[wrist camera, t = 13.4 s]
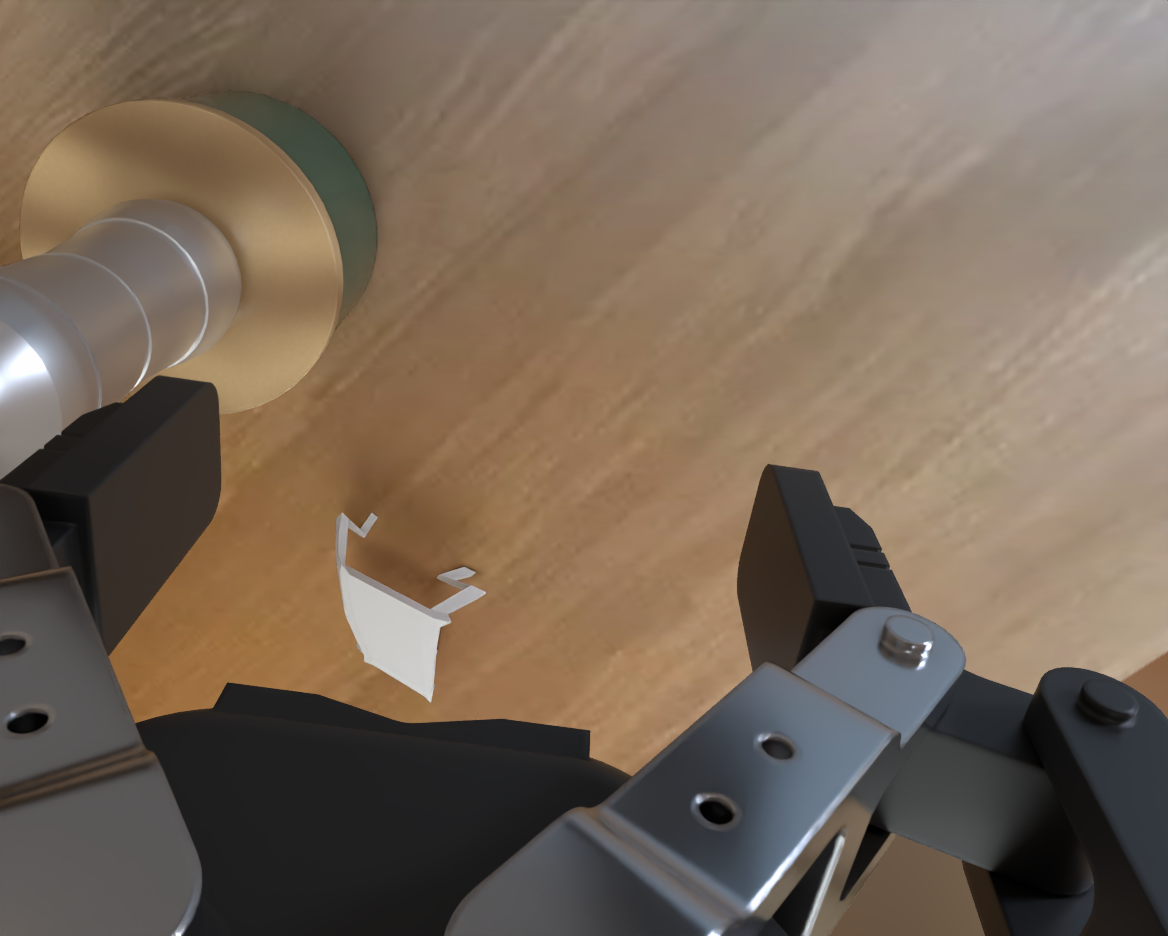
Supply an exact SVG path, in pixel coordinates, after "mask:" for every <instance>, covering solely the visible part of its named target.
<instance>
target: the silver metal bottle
mask: <svg viewBox="0 0 1168 936" xmlns="http://www.w3.org/2000/svg"><path fill="white" fill-rule="evenodd" d="M241 289H242V288H241V274H240V270H239V266H238V262H237V259H236V256H235V254H234V252H233V250H232V248H231V245H230V244H229V242H228V241H227V239H226V238H225V237H224V235H223V234H222V232H221V231H220V230H219V229H218V228H217V227H216V226H215V225H214V224H213V223H212V222H211V221H210V220H209V219H207V218H206V217H205V216H203V215H202V214H201V213H199V212H198V211H196V210H194V209H192V208H190V207H188V206H186V205H184V204H180V203H177V202H173V201H170V200H159V199H137V200H129V201H123V202H120V203H117V204H115V205H112V206H109V207H108V208H106V209H105V210H103V211H102V212H100V213H99V214H97V215H96V216H94V217H93V218H92V219H90V220H89V221H88V222H86V223H85V224H84V225H83V226H82V227H81V228H80V229H79V230H78V231H77V232H76V233H75V234H74V235H73V236H72V237H71V238H69V239H67V240H66V241H64V242H63V243H61V244H59V245H58V246H56V247H54V248H53V249H51V250H49V251H48V252H46V253H43V254H40V255H37V256H34V257H30V258H27V259H24V260H21V261H18V262H15V263H11V264H8V265H4V266H0V480H1V479H2V478H3V477H5V476H6V475H7V474H8V473H10V472H11V471H12V470H13V469H15V468H16V467H17V466H19V465H20V464H21V463H22V462H24V461H25V460H26V459H27V458H29V457H30V456H31V455H32V454H34V453H35V452H36V451H37V450H39V449H44V445H45V444H46V443H47V442H49V441H50V440H51V439H52V438H54V437H55V436H56V435H61V431H62V430H64V429H65V428H66V427H67V426H69V425H70V424H71V423H72V422H74V421H75V420H76V419H78V418H79V417H80V416H81V415H83V414H85V413H88V412H91V411H93V410H96V409H99V408H101V407H104V406H107V405H109V404H112V403H115V402H118V403H119V402H120V401H121V400H122V399H123V398H124V397H125V396H126V395H127V394H128V393H129V392H131V391H132V390H133V389H134V388H135V387H136V386H137V385H138V384H139V383H140V382H142V381H144V380H146V379H147V378H149V377H151V376H153V375H154V374H156V373H158V372H160V371H161V370H163V369H166V368H169V367H173V366H176V365H179V364H182V363H184V362H187V361H189V360H191V359H193V358H195V357H197V356H199V355H201V354H203V353H204V352H206V351H208V350H209V349H211V348H212V347H213V346H214V345H215V344H216V343H217V342H218V341H219V340H220V339H221V338H222V336H223V334H224V333H225V331H226V330H227V328H228V327H229V325H230V323H231V321H232V320H233V318H234V316H235V314H236V311H237V308H238V306H239V303H240V296H241Z"/></svg>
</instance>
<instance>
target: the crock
mask: <svg viewBox="0 0 1168 936" xmlns="http://www.w3.org/2000/svg"><path fill="white" fill-rule="evenodd" d="M137 199H159V200H170V201H173V202H177V203H180V204H184V205H186V206H188V207H190V208H192V209H194V210H196V211H198V212H199V213H201V214H202V215H203V216H205V217H206V218H207V219H209V220H210V221H211V222H212V223H213V224H214V225H215V226H216V227H217V228H218V229H219V230H220V231H221V232H222V234H223V235H224V237H225V238H226V239H227V241H228V242H229V244H230V245H231V248H232V250H233V252H234V254H235V256H236V259H237V262H238V266H239V270H240V274H241V288H242V289H241V296H240V303H239V306H238V308H237V311H236V314H235V316H234V318H233V320H232V321H231V323H230V325H229V327H228V328H227V330H226V331H225V333H224V334H223V336H222V338H221V339H220V340H219V341H218V342H217V343H216V344H215V345H214V346H213V347H212V348H211V349H209V350H208V351H206V352H204V353H203V354H201V355H199V356H197V357H195V358H193V359H191V360H189V361H187V362H184V363H182V364H179V365H176V366H173V367H169V368H166V369H163V370H161V371H160V372H158V373H156V374H154V375H153V376H151V377H149V378H147V379H146V380H144V381H142V382H140V383H139V384H138V385H137V386H136V387H135V388H134V389H133V390H132V391H131V392H129V393H128V395H130V396H133V395H134V394H135V393H136V392H137V391H139V390H140V389H141V388H142V387H143V386H145V385H146V384H147V383H148V382H149V381H150V380H152V379H153V378H154V377H156V376H158V375H162V376H169V377H176V378H183V379H190V380H197V381H203V382H210V383H213V384H214V386H215V387H216V389H217V393H218V398H219V414H229V413H235V412H240V411H245V410H248V409H251V408H254V407H257V406H261V405H263V404H265V403H267V402H269V401H271V400H273V399H275V398H277V397H279V396H281V395H282V394H283V393H285V392H286V391H288V390H289V389H291V388H292V387H293V386H294V385H296V384H297V383H298V382H299V381H300V380H301V379H302V378H303V377H304V376H305V375H306V374H307V373H308V372H309V370H310V369H311V368H312V367H313V366H314V364H315V363H316V362H317V360H318V359H319V358H320V357H321V355H322V354H323V352H324V350H325V349H326V347H327V345H328V343H329V342H330V340H331V338H332V335H333V333H334V331H335V330H336V329H337V327H338V326H339V325H340V324H341V323H342V322H343V320H344V319H345V318H346V317H347V316H348V315H349V313H350V312H351V311H352V310H353V308H354V307H355V306H356V305H357V303H358V302H359V300H360V299H361V297H362V295H363V293H364V292H365V290H366V288H367V285H368V283H369V280H370V278H371V275H372V272H373V267H374V263H375V259H376V249H377V226H376V220H375V213H374V208H373V205H372V201H371V198H370V194H369V192H368V189H367V187H366V185H365V182H364V180H363V178H362V175H361V174H360V172H359V170H358V168H357V167H356V165H355V163H354V162H353V160H352V159H351V157H350V156H349V155H348V153H347V152H346V150H345V149H344V148H343V146H342V145H341V144H340V143H339V142H338V141H337V140H336V139H335V138H334V137H333V136H332V135H331V133H330V132H329V131H327V130H326V129H325V128H324V127H323V126H321V125H320V124H319V123H318V122H317V121H316V120H314V119H313V118H311V117H310V116H308V115H307V114H305V113H304V112H302V111H301V110H299V109H297V108H295V107H293V106H291V105H289V104H287V103H285V102H283V101H280V100H277V99H274V98H272V97H269V96H266V95H261V94H257V93H252V92H246V91H232V90H229V91H215V92H209V93H204V94H200V95H195V96H190V97H186V98H181V99H163V98H153V99H139V100H132V101H127V102H123V103H118V104H114V105H109V106H106V107H103V108H101V109H98V110H96V111H93V112H91V113H88V114H86V115H84V116H83V117H81V118H79V119H78V120H76V121H74V122H73V123H71V124H70V125H68V126H67V127H66V128H65V129H64V130H63V131H61V132H60V133H59V134H58V135H57V136H56V137H55V138H54V139H53V140H52V141H51V142H50V144H49V145H48V146H47V147H46V148H45V150H44V151H43V152H42V154H41V155H40V157H39V159H38V160H37V162H36V164H35V165H34V167H33V169H32V171H31V174H30V177H29V179H28V182H27V184H26V187H25V191H24V195H23V200H22V204H21V211H20V225H19V230H20V246H21V252H22V258H23V260H24V259H27V258H30V257H34V256H37V255H40V254H43V253H46V252H48V251H49V250H51V249H53V248H54V247H56V246H58V245H59V244H61V243H63V242H64V241H66V240H67V239H69V238H71V237H72V236H73V235H74V234H75V233H76V232H77V231H78V230H79V229H80V228H81V227H82V226H83V225H84V224H85V223H86V222H88V221H89V220H90V219H92V218H93V217H94V216H96V215H97V214H99V213H100V212H102V211H103V210H105V209H106V208H108V207H109V206H112V205H115V204H117V203H120V202H123V201H129V200H137Z"/></svg>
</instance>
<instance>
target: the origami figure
mask: <svg viewBox="0 0 1168 936" xmlns="http://www.w3.org/2000/svg"><path fill="white" fill-rule="evenodd" d="M377 518H378V517H377V516H375V515H374V514H373V513H371V514H370V516H369V517H368V519H367V520H366V522H365V523H364V524H363V526H362V527H361V529H359V528H358V527H357V526H356V525H355V524H354V523H353V522H352V521H351V520H350V519H348V518H347V517H346V516H345V515H344V514H343V513H341V514H340V515H339V516H338V517H337V518H336V565H337V571H338V577H339V583H340V590H341V596H342V602H343V608H344V612H345V615H346V617H347V620H348V622H349V624H350V627H351V629H352V631H353V633H354V636H355V638H356V640H357V646H356V648H357V649H358V650H360V651H361V652H362V653H363V654H364V662H367V663H370V664H372V665H374V666H376V667H377V668H379V669H381V670H382V671H384V672H385V673H387V674H389V675H390V676H392V677H394V678H395V679H397V680H399V681H400V682H402V683H403V684H405V685H407V686H408V687H410V688H412V689H413V690H415V691H417V692H418V693H420V694H421V695H423V696H425V697H426V698H427V699H428V701H429V702H430V703H431V699H432V694H433V689H434V688H435V686H434V674H435V664H436V654H437V652H438V651H437V643H438V638H439V632H440V627H442V626H444V625H447V624H449V623H451V620H450V618H449V615H448V614H450V613H452V612H453V611H455V610H457V609H459V608H461V607H463V606H465V605H467V604H469V603H471V602H473V601H474V600H476V599H478V598H480V597H482V596H483V595H484V594H485V593H487V592H485V591H482V590H480V589H478V588H476V587H474V586H472V585H469V584H466V583H463V582H459V581H456V580H460V579H463V578H467V577H471V576H473V575H474V574H475V573H476V572H474V571H472V570H470V569H468V568H466V567H462V568H459V569H456V570H452V571H449V572H446V573H443V574H440V575H438V576H437V579H439V580H441V581H443V582H445V583H447V584H449V585H452V586H454V587H456V588H459V589H461V590H462V591H460V592H459V593H457V594H455V595H454V596H452V597H450V598H449V599H447V600H445V601H443V602H442V603H440V604H438V605H436V606H435V607H433V608H431V609H429V608H427V607H425V606H423V605H421V604H419V603H417V602H415V601H414V600H412V599H410V598H408V597H406V596H404V595H402V594H400V593H398V592H396V591H394V590H393V589H391V588H389V587H387V586H385V585H383V584H381V583H379V582H377V581H375V580H374V579H372V578H370V577H368V576H366V575H364V574H362V573H360V572H358V571H356V570H355V569H353V568H351V567H349V566H347V565H345V557H346V546H347V534H348V528H349V529H351V530H352V531H354V532H355V533H357V534H358V535H360V536H361V537H363V538H365V536H366V534H367V533H368V531H369V530H370V528H371V527H372V525H373V524H374V522H375V521H376V520H377Z"/></svg>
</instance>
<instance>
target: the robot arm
mask: <svg viewBox="0 0 1168 936" xmlns="http://www.w3.org/2000/svg"><path fill="white" fill-rule="evenodd" d="M220 491H221V454H220V421H219V398H218V393H217V389H216V387H215V386H214V384H213V383H210V382H203V381H197V380H190V379H183V378H176V377H169V376H162V375H158V376H156V377H154V378H153V379H152V380H150V381H149V382H148V383H147V384H146V385H145V386H143V387H142V388H141V389H140V390H139V391H137V392H136V393H135V394H134V395H133V396H131V397H130V398H129V399H128V400H127V401H125V402H124V403H118V402H115V403H112V404H109V405H107V406H104V407H101V408H99V409H96V410H93V411H91V412H88V413H85V414H83V415H81V416H80V417H79V418H78V419H76V420H75V421H74V422H72V423H71V424H70V425H69V426H67V427H66V428H65V429H64V430H62V431H61V435H56V436H55V437H54V438H52V439H51V440H50V441H49V442H47V443H46V444H45V445H44V449H39V450H37V451H36V452H35V453H34V454H32V455H31V456H30V457H29V458H27V459H26V460H25V461H24V462H22V463H21V464H20V465H19V466H17V467H16V468H15V469H13V470H12V471H11V472H10V473H8V474H7V475H6V476H5V477H3V478H2V479H1V480H0V936H829V935H830V933H831V932H832V930H833V929H834V927H835V926H836V924H837V923H838V921H839V920H840V919H841V917H842V916H843V914H844V913H845V911H846V910H847V908H848V907H849V905H850V904H851V902H852V901H853V900H854V898H855V897H856V895H857V894H858V892H859V891H860V889H861V888H862V887H863V885H864V884H865V882H866V881H867V879H868V878H869V876H870V875H871V873H872V872H873V870H874V869H875V868H876V866H877V865H878V863H879V862H880V860H881V859H882V857H883V856H884V855H885V853H886V852H887V850H888V849H889V847H890V846H891V844H892V843H893V841H894V839H895V837H896V835H899V836H901V837H904V838H907V839H909V840H912V841H914V842H917V843H919V844H922V845H925V846H927V847H930V848H933V849H935V850H938V851H940V852H943V853H945V854H948V855H951V856H953V857H956V858H958V859H961V860H962V864H963V869H964V872H965V875H966V878H967V881H968V885H969V888H970V891H971V894H972V897H973V900H974V903H975V906H976V909H977V912H978V915H979V918H980V921H981V924H982V928H983V930H984V934H985V936H1168V719H1167V718H1166V716H1165V715H1164V714H1163V713H1162V711H1161V710H1160V709H1159V708H1158V707H1157V706H1156V705H1155V704H1154V703H1152V702H1151V701H1150V700H1149V699H1148V698H1146V697H1145V696H1144V695H1142V694H1141V693H1139V692H1138V691H1136V690H1135V689H1133V688H1131V687H1130V686H1128V685H1126V684H1124V683H1122V682H1120V681H1118V680H1116V679H1114V678H1111V677H1109V676H1106V675H1104V674H1100V673H1097V672H1094V671H1090V670H1086V669H1081V668H1072V667H1062V668H1055V669H1053V670H1050V671H1048V672H1047V673H1045V674H1044V675H1043V677H1042V678H1041V680H1040V682H1039V684H1038V687H1037V689H1036V691H1035V693H1034V695H1032V694H1029V693H1026V692H1023V691H1020V690H1017V689H1014V688H1011V687H1008V686H1005V685H1002V684H999V683H996V682H993V681H990V680H988V679H985V678H982V677H980V676H977V675H975V674H973V673H971V672H968V671H966V670H964V668H965V665H966V656H965V653H964V651H963V648H962V647H961V645H960V644H959V643H958V641H957V640H956V639H955V638H954V637H953V636H952V635H951V634H950V633H948V632H947V631H946V630H945V629H943V628H942V627H940V626H939V625H937V624H936V623H934V622H932V621H930V620H928V619H926V618H924V617H922V616H920V615H917V614H914V613H912V611H911V609H910V607H909V605H908V603H907V601H906V599H905V597H904V595H903V592H902V590H901V588H900V586H899V584H898V582H897V580H896V578H895V576H894V573H893V571H892V570H889V567H890V565H889V563H888V561H887V559H886V557H885V555H884V553H881V550H882V548H881V546H880V544H879V542H878V540H877V538H876V536H875V534H874V531H873V529H872V528H871V527H870V526H869V525H868V524H867V523H866V522H864V521H863V520H862V519H861V518H860V517H859V516H858V515H857V514H855V513H854V512H853V511H852V510H851V509H850V508H844V507H837V506H833V504H832V501H831V499H830V497H829V494H828V492H827V489H826V487H825V485H824V482H823V480H822V478H821V475H820V473H819V472H818V471H813V470H806V469H799V468H792V467H785V466H778V465H771V464H768V465H767V466H766V467H765V469H764V470H763V473H762V475H761V478H760V482H759V486H758V490H757V494H756V497H755V501H754V505H753V509H752V513H751V517H750V521H749V525H748V529H747V532H746V536H745V540H744V544H743V548H742V552H741V556H740V561H739V567H738V577H737V595H738V601H739V606H740V611H741V616H742V621H743V626H744V631H745V636H746V641H747V646H748V651H749V656H750V661H751V666H752V671H753V672H752V673H751V674H750V675H749V676H748V677H746V678H745V679H744V680H743V681H742V682H741V683H740V684H738V685H737V686H736V687H735V688H734V689H733V690H731V691H730V692H729V693H728V694H727V695H726V696H725V697H723V698H722V699H721V700H720V701H719V702H718V703H716V704H715V705H714V706H713V707H712V708H711V709H710V710H708V711H707V712H706V713H705V714H704V715H703V716H702V717H700V718H699V719H698V720H697V721H696V722H695V723H693V724H692V725H691V726H690V727H689V728H688V729H687V730H685V731H684V732H683V733H682V734H681V735H680V736H678V737H677V738H676V739H675V740H674V741H673V742H672V743H670V744H669V745H668V746H667V747H666V748H665V749H663V750H662V751H661V752H660V753H659V754H658V755H657V756H655V757H654V758H653V759H652V760H651V761H650V762H649V763H647V764H646V765H645V766H644V767H643V768H642V769H640V770H639V771H638V772H637V773H636V774H635V775H634V776H630V775H628V774H627V773H625V772H623V771H621V770H619V769H617V768H615V767H613V766H610V765H608V764H606V763H604V762H601V761H598V760H596V759H593V758H590V757H589V752H590V730H582V729H574V728H567V727H559V726H552V725H544V724H537V723H529V722H522V721H514V720H507V719H490V720H470V721H450V722H430V723H404V722H399V721H395V720H392V719H389V718H386V717H383V716H380V715H378V714H375V713H372V712H369V711H366V710H363V709H360V708H357V707H354V706H351V705H348V704H345V703H342V702H339V701H336V700H333V699H330V698H327V697H324V696H321V695H318V694H310V693H303V692H295V691H288V690H280V689H273V688H265V687H258V686H250V685H243V684H235V683H227V684H226V686H225V688H224V689H223V691H222V693H221V695H220V697H219V698H218V700H217V702H216V704H215V706H214V707H213V708H211V709H199V710H192V711H184V712H177V713H173V714H168V715H164V716H159V717H155V718H151V719H148V720H145V721H141V722H138V723H135V722H134V720H133V717H132V715H131V712H130V710H129V707H128V705H127V702H126V700H125V697H124V695H123V692H122V690H121V687H120V685H119V682H118V680H117V677H116V675H115V672H114V670H113V667H112V665H111V662H110V660H109V657H108V656H109V655H110V654H111V652H112V651H113V650H114V649H115V647H116V646H117V645H118V643H119V642H120V641H121V639H122V638H123V637H124V635H125V634H126V633H127V631H128V630H129V629H130V628H131V626H132V625H133V624H134V622H135V621H136V620H137V618H138V617H139V616H140V614H141V613H142V612H143V610H144V609H145V608H146V606H147V605H148V604H149V603H150V601H151V600H152V599H153V597H154V596H155V595H156V593H157V592H158V591H159V589H160V588H161V587H162V585H163V584H164V583H165V582H166V580H167V579H168V578H169V576H170V575H171V574H172V572H173V571H174V570H175V568H176V567H177V566H178V564H179V563H180V562H181V561H182V559H183V558H184V557H185V555H186V554H187V553H188V551H189V550H190V549H191V547H192V546H193V545H194V543H195V542H196V541H197V539H198V538H199V537H200V536H201V534H202V533H203V532H204V530H205V529H206V528H207V526H208V525H209V524H210V522H211V521H212V519H213V517H214V515H215V512H216V509H217V506H218V502H219V497H220Z"/></svg>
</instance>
